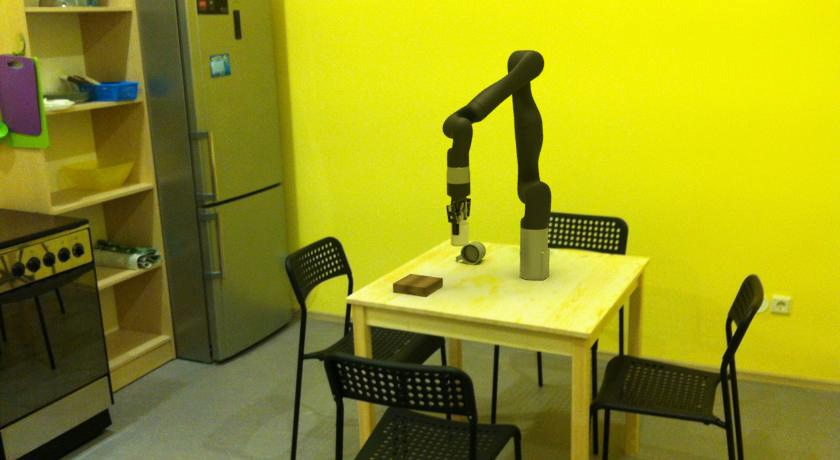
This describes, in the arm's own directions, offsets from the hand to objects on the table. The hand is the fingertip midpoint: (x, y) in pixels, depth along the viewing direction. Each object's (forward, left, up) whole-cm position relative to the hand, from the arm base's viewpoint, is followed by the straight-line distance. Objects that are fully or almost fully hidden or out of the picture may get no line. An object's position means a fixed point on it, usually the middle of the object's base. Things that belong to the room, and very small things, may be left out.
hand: (459, 232), depth 259 cm
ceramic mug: (+11, -32, -19) cm, 39 cm away
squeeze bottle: (0, 0, -4) cm, 4 cm away
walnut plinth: (+12, +6, -19) cm, 23 cm away
